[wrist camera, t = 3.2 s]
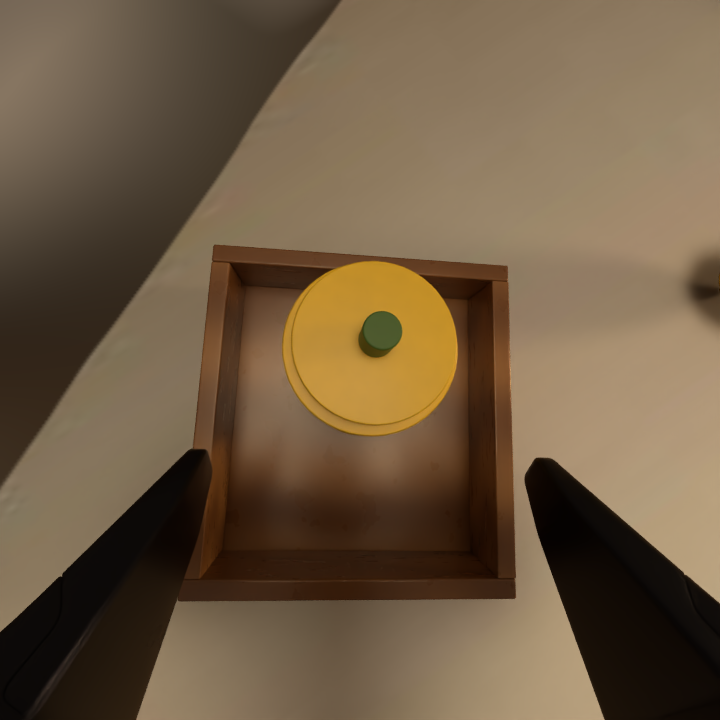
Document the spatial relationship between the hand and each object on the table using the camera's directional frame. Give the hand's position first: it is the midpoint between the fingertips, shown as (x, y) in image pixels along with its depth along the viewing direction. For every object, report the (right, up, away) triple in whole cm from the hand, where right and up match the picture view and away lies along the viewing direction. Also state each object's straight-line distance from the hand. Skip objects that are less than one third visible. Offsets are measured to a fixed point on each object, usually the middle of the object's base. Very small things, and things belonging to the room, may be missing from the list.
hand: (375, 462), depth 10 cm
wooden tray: (-1, 0, +11) cm, 11 cm away
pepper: (-1, +2, +9) cm, 9 cm away
